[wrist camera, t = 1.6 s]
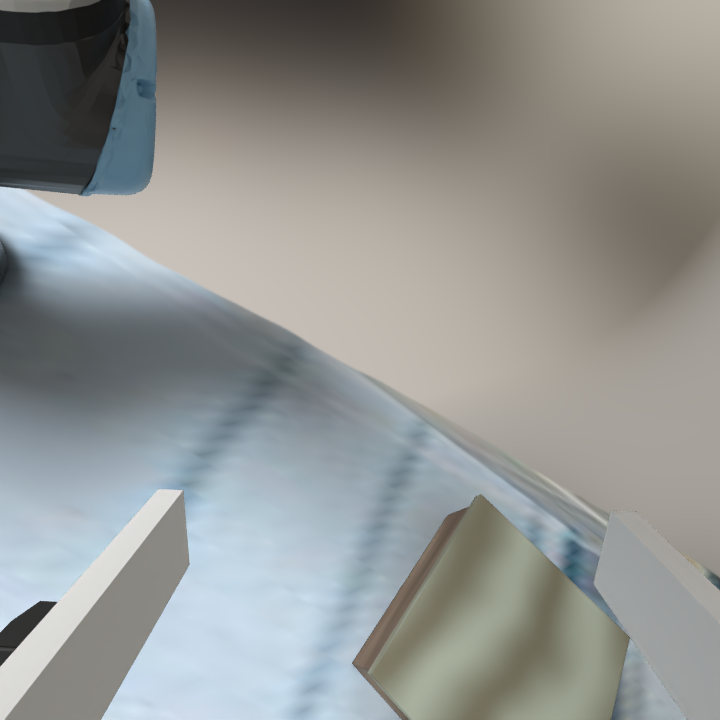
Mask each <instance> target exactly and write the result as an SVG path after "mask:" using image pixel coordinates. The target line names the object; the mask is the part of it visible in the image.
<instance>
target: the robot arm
mask: <svg viewBox="0 0 720 720" xmlns="http://www.w3.org/2000/svg"><path fill="white" fill-rule="evenodd" d="M156 54H157V50H156V25H155V15H154V10H153V7H152V5H151V3H150V1H149V0H0V186H1V187H11V188H21V189H31V190H40V191H51V192H60V193H71V194H79V195H80V196H90V195H92V194H108V195H132V194H136V193H138V192H140V191H142V190H143V189H145V188H146V186H147V185H148V184H149V182H150V179H151V175H152V170H153V161H154V148H155V129H156V98H155V91H156V72H157V55H156ZM6 262H7V261H6V254H5V250H4V248H3V246H2V244H1V242H0V284H1V282H2V280H3V277H4V275H5V271H6ZM188 566H189V553H188V541H187V529H186V517H185V505H184V493H183V490H168V489H158V490H157V491H156V492H155V493H154V495H153V496H152V497H151V498H150V499H149V500H148V501H147V502H146V504H145V505H144V506H143V507H142V508H141V509H140V510H139V511H138V513H137V514H136V515H135V516H134V517H133V518H132V519H131V520H130V522H129V523H128V524H127V525H126V526H125V527H124V528H123V529H122V531H121V532H120V533H119V534H118V535H117V536H116V537H115V538H114V539H113V541H112V542H111V543H110V544H109V545H108V546H107V547H106V548H105V550H104V551H103V552H102V553H101V554H100V555H99V556H98V557H97V559H96V560H95V561H94V562H93V563H92V564H91V565H90V566H89V568H88V569H87V570H86V571H85V572H84V573H83V574H82V575H81V577H80V578H79V579H78V580H77V581H76V582H75V583H74V584H73V586H72V587H71V588H70V589H69V590H68V591H67V592H66V593H65V595H64V596H63V597H62V598H61V599H60V600H59V601H58V602H48V601H40V602H38V603H37V604H35V605H34V606H32V607H31V608H30V609H28V610H27V611H25V612H24V613H22V614H21V615H20V616H18V617H17V618H15V619H14V620H12V621H11V622H10V623H9V624H8V625H7V626H6V627H5V628H4V629H3V630H2V631H1V632H0V720H101V719H102V717H103V715H104V713H105V712H106V710H107V708H108V706H109V705H110V703H111V701H112V699H113V698H114V696H115V694H116V692H117V691H118V689H119V687H120V685H121V684H122V682H123V680H124V678H125V677H126V675H127V673H128V671H129V670H130V668H131V666H132V664H133V663H134V661H135V659H136V657H137V656H138V654H139V652H140V650H141V649H142V647H143V645H144V643H145V642H146V640H147V638H148V636H149V635H150V633H151V631H152V629H153V628H154V626H155V624H156V622H157V621H158V619H159V617H160V615H161V614H162V612H163V610H164V608H165V607H166V605H167V603H168V601H169V600H170V598H171V596H172V594H173V593H174V591H175V589H176V587H177V586H178V584H179V582H180V580H181V579H182V577H183V575H184V573H185V572H186V570H187V568H188ZM593 584H594V586H595V587H596V588H597V590H598V591H599V593H600V594H601V596H602V597H603V599H604V600H605V601H606V603H607V604H608V606H609V607H610V609H611V610H612V612H613V613H614V614H615V616H616V617H617V619H618V620H619V622H620V623H621V625H622V626H623V627H624V629H625V630H626V632H627V633H628V635H629V636H630V638H631V639H632V641H633V642H634V643H635V645H636V646H637V648H638V649H639V651H640V652H641V654H642V655H643V656H644V658H645V659H646V661H647V662H648V664H649V665H650V667H651V668H652V669H653V671H654V672H655V674H656V675H657V677H658V678H659V680H660V681H661V682H662V684H663V685H664V687H665V688H666V690H667V691H668V693H669V694H670V695H671V697H672V698H673V700H674V701H675V703H676V704H677V706H678V707H679V708H680V710H681V711H682V713H683V714H684V716H685V717H686V719H687V720H720V590H719V589H717V588H716V587H715V586H714V585H713V584H712V583H711V582H710V581H709V580H708V579H707V578H706V577H705V576H704V575H703V574H702V573H701V572H700V571H698V570H697V569H696V568H695V567H694V566H693V565H692V564H691V563H690V562H689V561H688V560H687V559H686V558H685V557H684V556H683V555H682V554H681V553H680V552H678V551H677V550H676V549H675V548H674V547H673V546H672V545H671V544H670V543H669V542H668V541H667V540H666V539H665V538H664V537H663V536H662V535H661V534H659V533H658V532H657V531H656V530H655V529H654V528H653V527H652V526H651V525H650V524H649V523H648V522H647V521H646V520H645V519H644V518H643V517H641V516H640V515H639V514H638V513H637V512H635V511H615V510H611V513H610V517H609V521H608V525H607V529H606V534H605V538H604V542H603V546H602V550H601V554H600V558H599V563H598V567H597V571H596V575H595V579H594V583H593Z"/></svg>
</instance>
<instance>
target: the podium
mask: <svg viewBox="0 0 720 720" xmlns="http://www.w3.org/2000/svg"><path fill="white" fill-rule="evenodd" d="M629 639H630V637H629V636H628V635H627V634H626V633H625V632H624V631H623V630H622V629H621V628H620V627H619V626H618V625H616V624H615V623H614V622H613V621H612V620H611V619H610V618H609V617H608V616H607V615H606V614H605V613H604V612H603V611H602V610H601V609H600V608H599V607H598V606H597V605H596V604H595V603H594V602H593V601H592V600H591V599H589V598H588V597H587V596H586V595H585V594H584V593H583V592H582V591H581V590H580V589H579V588H578V587H577V586H576V585H575V584H574V583H573V582H572V581H571V580H570V579H569V578H568V577H567V576H566V575H565V574H564V573H562V572H561V571H560V570H559V569H558V568H557V567H556V566H555V565H554V564H553V563H552V562H551V561H550V560H549V559H548V558H547V557H546V556H545V555H544V554H543V553H542V552H541V551H540V550H539V549H538V548H537V547H535V546H534V545H533V544H532V543H531V542H530V541H529V540H528V539H527V538H526V537H525V536H524V535H523V534H522V533H521V532H520V531H519V530H518V529H517V528H516V527H515V526H514V525H513V524H512V523H511V522H509V521H508V520H507V519H506V518H505V517H504V516H503V515H502V514H501V513H500V512H499V511H498V510H497V509H496V508H495V507H494V506H493V505H492V504H491V503H490V502H489V501H488V500H487V499H486V498H485V497H484V496H482V495H481V494H480V495H478V496H476V497H475V498H474V500H473V502H472V503H471V505H470V507H467V508H465V509H462V510H460V511H457V512H454V513H452V514H449V515H448V516H447V517H446V519H445V520H444V522H443V523H442V525H441V527H440V528H439V530H438V531H437V533H436V534H435V536H434V537H433V539H432V540H431V542H430V544H429V545H428V547H427V548H426V550H425V551H424V553H423V554H422V556H421V557H420V559H419V561H418V562H417V564H416V565H415V567H414V568H413V570H412V571H411V573H410V574H409V576H408V578H407V579H406V581H405V582H404V584H403V585H402V587H401V588H400V590H399V591H398V593H397V595H396V596H395V598H394V599H393V601H392V602H391V604H390V605H389V607H388V608H387V610H386V612H385V613H384V615H383V616H382V618H381V619H380V621H379V622H378V624H377V625H376V627H375V629H374V630H373V632H372V633H371V635H370V636H369V638H368V639H367V641H366V642H365V644H364V646H363V647H362V649H361V650H360V652H359V653H358V655H357V656H356V658H355V659H354V661H353V663H352V664H353V665H354V666H355V667H356V669H357V670H358V671H359V672H360V673H361V674H362V675H363V676H364V677H365V679H366V680H367V681H368V682H369V683H370V684H371V685H372V686H373V688H374V689H375V690H376V691H377V692H378V693H379V694H380V695H381V696H382V698H383V699H384V700H385V701H386V702H387V703H388V704H389V705H390V707H391V708H392V709H393V710H394V711H395V712H396V713H397V714H398V716H399V717H400V718H401V719H402V720H611V717H612V712H613V708H614V704H615V699H616V695H617V691H618V686H619V682H620V678H621V673H622V669H623V665H624V660H625V656H626V652H627V647H628V643H629Z"/></svg>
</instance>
